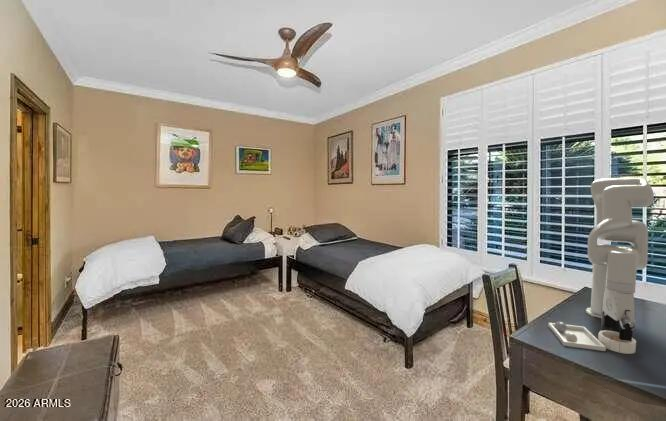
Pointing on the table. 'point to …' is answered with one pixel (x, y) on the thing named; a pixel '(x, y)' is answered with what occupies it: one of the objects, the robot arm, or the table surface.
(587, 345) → the parts tray
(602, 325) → the supplement bottle
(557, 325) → the pebble
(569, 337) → the pebble
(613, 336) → the pebble
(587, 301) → the table surface
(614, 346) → the bowl
